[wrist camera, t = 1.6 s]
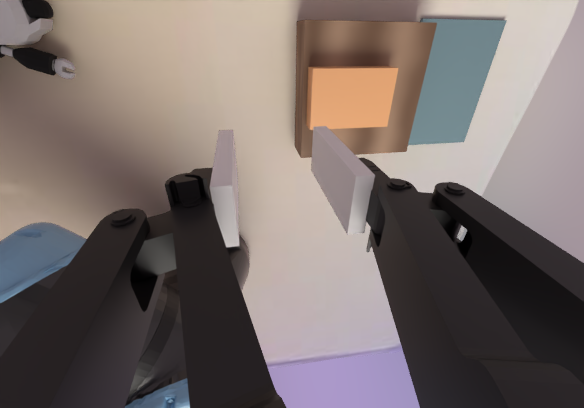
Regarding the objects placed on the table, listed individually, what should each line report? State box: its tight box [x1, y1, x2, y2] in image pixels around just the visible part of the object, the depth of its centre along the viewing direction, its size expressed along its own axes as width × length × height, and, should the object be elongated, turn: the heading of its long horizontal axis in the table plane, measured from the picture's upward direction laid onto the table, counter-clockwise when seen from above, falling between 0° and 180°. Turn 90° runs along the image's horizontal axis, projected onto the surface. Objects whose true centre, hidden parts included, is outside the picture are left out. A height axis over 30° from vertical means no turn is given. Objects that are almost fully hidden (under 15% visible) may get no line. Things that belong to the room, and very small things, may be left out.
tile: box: [306, 66, 398, 130], centre depth 30 cm, size 9×6×2 cm, turn 89°
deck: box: [295, 20, 437, 158], centre depth 32 cm, size 14×14×4 cm
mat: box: [408, 19, 507, 145], centre depth 36 cm, size 11×15×1 cm
